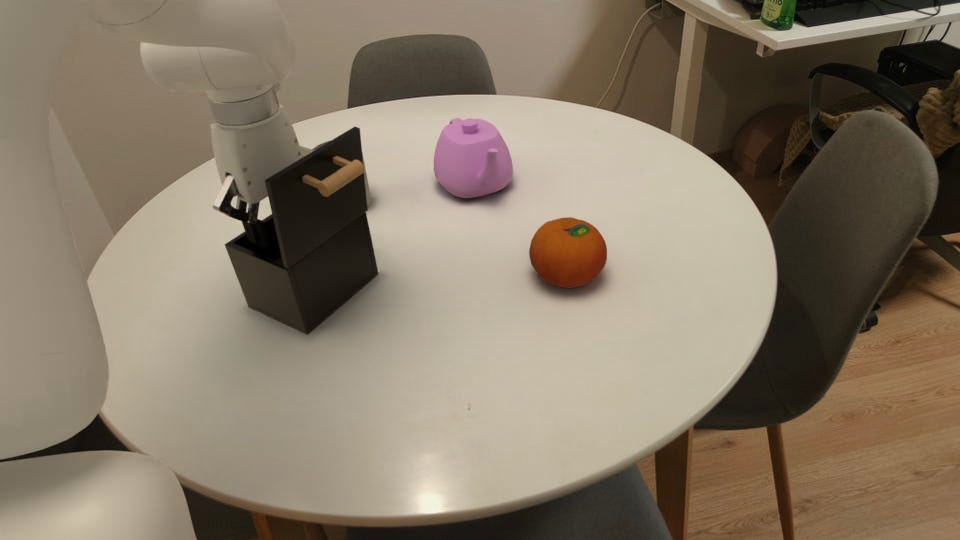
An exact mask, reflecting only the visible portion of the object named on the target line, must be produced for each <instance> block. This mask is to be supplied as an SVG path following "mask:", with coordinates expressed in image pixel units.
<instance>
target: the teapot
mask: <svg viewBox="0 0 960 540" xmlns="http://www.w3.org/2000/svg"><path fill="white" fill-rule="evenodd" d="M434 148H435V149H434V152H433V153H434V154H433V173H434V176H435V178H436V181H437V182H438V183H439V184H440V185H441V187H443V188H444V189H445V190H446V191H447V192H448V193H449V194H451V195H453V196H455V197H458V198H461V199H462V198H463V199H473V198H480V197H483V196H487V195H491V194H494V193H497V192H500V191H501V190H503V189H505V188H506V187H507V186H508V184H509V183H510V182H511V180H512V178H513V176H514V166H513V160H512V156H511V153H510V150H509V148H508V145H507V144H506V141H505V140H504V138H503V136H502V135H501V133H500V131H499V130H498V129H497V127H496V126H495V124H492V123H491V122H489V121H487V120H485V119H482V118H472V117H471V118H469V117H468V118H465V119H461V118H459V117H454V118H452V119H450V120H449V124H447V125H445V126H444V127H443V128H442V130H441V132H440V134H439V137H438V140H437V142H436V146H435V147H434Z"/></svg>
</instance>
